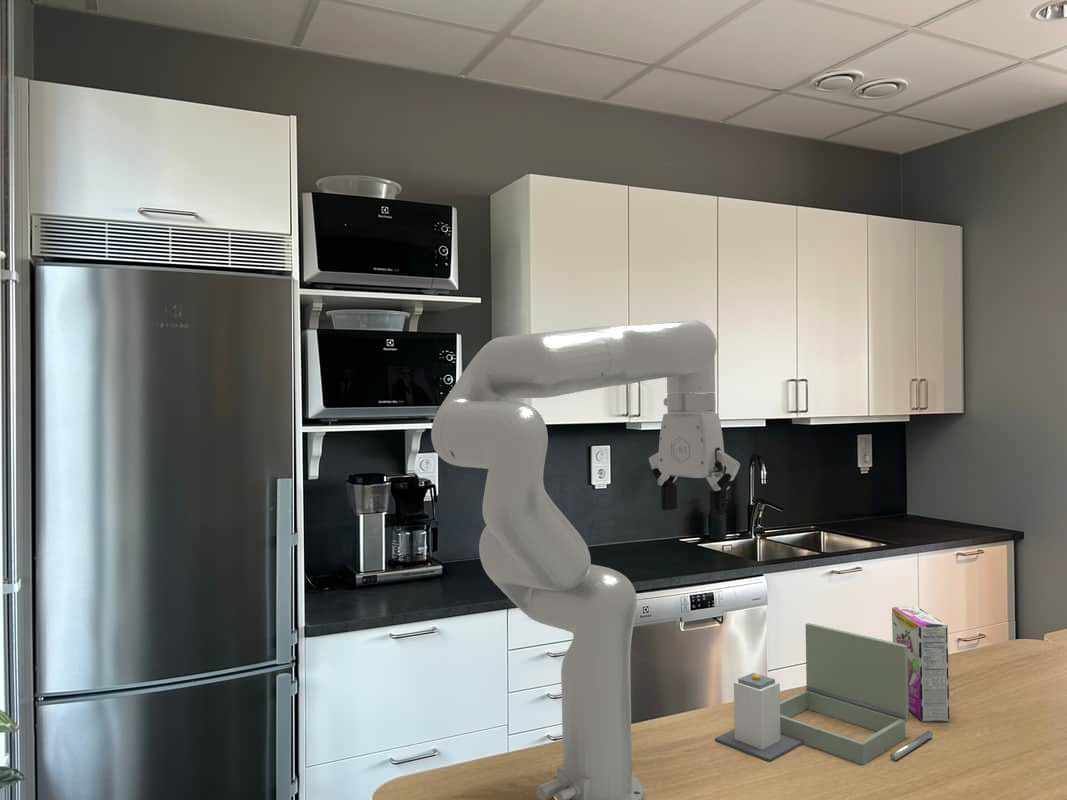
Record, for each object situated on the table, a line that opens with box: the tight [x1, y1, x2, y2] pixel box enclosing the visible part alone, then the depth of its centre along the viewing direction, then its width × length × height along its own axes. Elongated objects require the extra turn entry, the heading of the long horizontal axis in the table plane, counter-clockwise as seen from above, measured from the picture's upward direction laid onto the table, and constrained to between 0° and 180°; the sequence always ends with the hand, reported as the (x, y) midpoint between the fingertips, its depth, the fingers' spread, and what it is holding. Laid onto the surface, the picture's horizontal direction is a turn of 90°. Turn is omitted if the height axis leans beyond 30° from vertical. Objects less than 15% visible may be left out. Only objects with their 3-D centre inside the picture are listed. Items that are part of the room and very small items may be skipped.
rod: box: [889, 730, 934, 761], centre depth 123 cm, size 12×1×1 cm, turn 130°
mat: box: [714, 728, 804, 763], centre depth 126 cm, size 9×10×1 cm
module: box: [733, 672, 781, 750], centre depth 126 cm, size 5×5×10 cm
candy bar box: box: [891, 606, 950, 723], centre depth 138 cm, size 11×5×16 cm, turn 179°
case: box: [780, 622, 910, 766], centre depth 129 cm, size 15×17×14 cm
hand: (693, 512), depth 127 cm, fingers open, 9 cm apart
